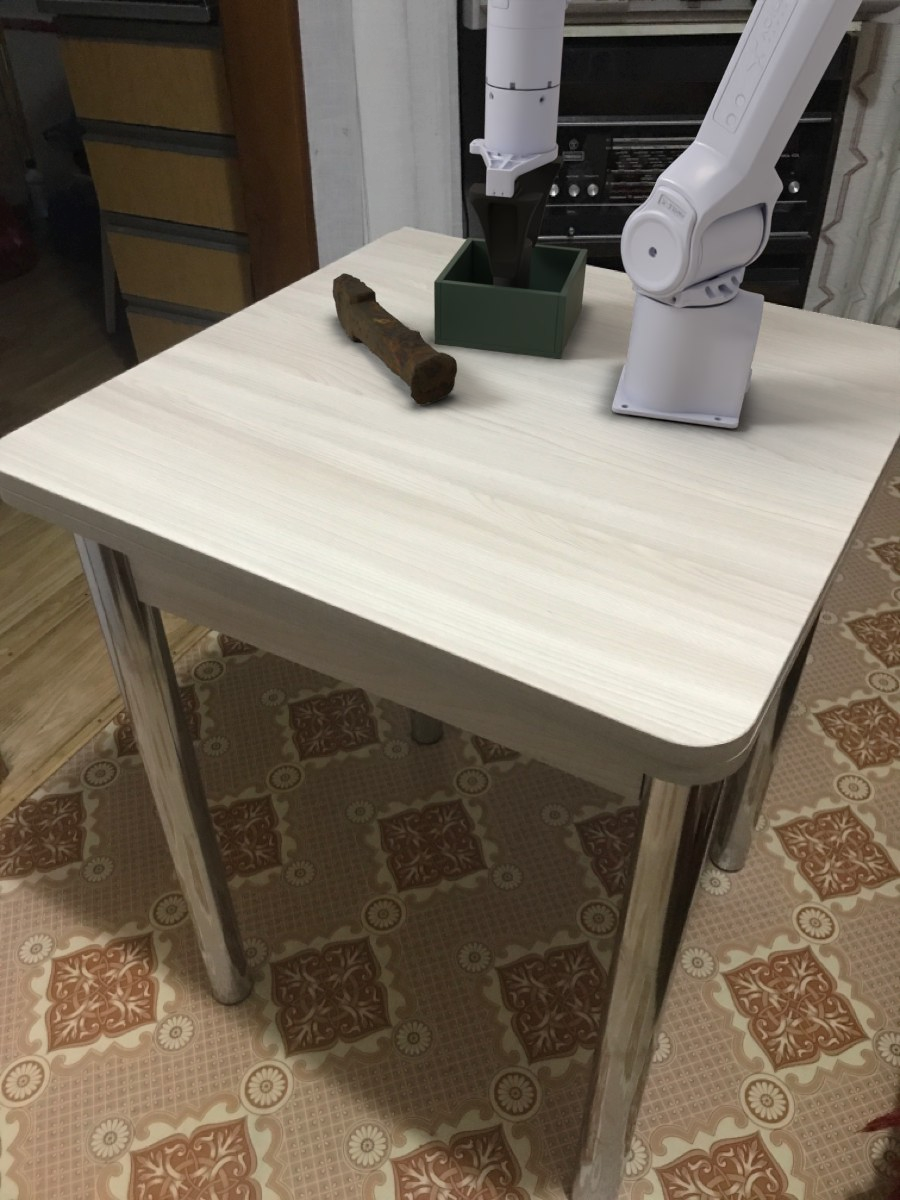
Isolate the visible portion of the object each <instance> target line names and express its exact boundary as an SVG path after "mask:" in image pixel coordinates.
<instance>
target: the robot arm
mask: <svg viewBox="0 0 900 1200" xmlns="http://www.w3.org/2000/svg"><path fill="white" fill-rule="evenodd" d="M570 2H572V0H487V10H486V11H487V13H486V17H487V18H486V49H485V50H486V52H485V53H486V54H485V55H486V57H485V101H484V102H485V104H484V138H476V139H473V140H472V141H471V142H470V143H469V153H470V154H473V155H480V156H481V157H482V159H483V162H484V165H485V166H486V179H485V181H486V182H485V183H479V182H474V183H473V184H472V185H471V186H470V188H469V189H468V196H469V197H468V199H469V203H470V205H471V206H472V208H473V210H474V212H475V214H476V216H477V219H478V222H479V224H480V227H481V230H482V233H483V239H485V243H486V248H487V254H488V259H489V264H490V269H491V273H492V276H493V277H502V278H511V279H516V277H517V276H518V273H519V270H520V267H521V263H522V258H523V253H524V247H525V242H526V237H527V238H529V239H530V240H531V241H532V248H534V247H535V245H536V244H538V243H537V242H538V240H539V236H540V233H541V229H542V225H543V220H544V216H545V212H546V208H547V203H548V200H549V198H550V197H549V196H550V194H551V192H552V189H553V186H554V183H555V181H556V179H557V176H558V175H559V172H560V171H561V169H562V167H563V165H564V163H565V161H564V159H565V158H564V157H563V156H561V155H558V154H559V144H558V143H557V132H558V119H559V105H560V103H559V102H560V89H561V76H562V75H561V74H562V61H563V60H562V59H563V47H564V32H565V17H566V10H567V9H568V7H569V3H570ZM862 2H863V0H756V2H755V4H754V7H753V9H752V11H751V13H750V15H749V18H748V19H747V22H746V25H745V27H744V29H743V31H742V33H741V36H740V37H739V40H738V43H737V45H736V46H735V49H734V52H733V54H732V56H731V58H730V61H729V63H728V65H727V67H726V69H725V71H724V74H723V75H722V79H721V81H720V83H719V85H718V87H717V90H716V93H715V94H714V97H713V99H712V101H711V103H710V105H709V107H708V110H707V112H706V114H705V116H704V119H703V121H702V123H701V126H700V128H699V130H698V132H697V135H696V137H695V139H694V141H693V142H692V143H691V144H690V145H689V146H688V147H687V148H686V149H685V150H684V151H683V153H681V154H680V155H679V156H678V157H677V158H676V159H674V161H673V162H672V163H671V164H670V165H669V166H668V167H667V168H666V169H665V170H664V171H663V172H662V173H661V174H660V175H659V176H658V178H657V180H656V182H655V185H654V186H653V189H652V191H651V192H650V195H649V196H648V197H647V199H646V200H645V201H644V202H643V203H642V204H641V205H639V207H637V208H636V209H635V210H633V212H632V213H631V214H630V215H629V217H628V218H627V220H626V222H625V224H624V226H623V229H622V233H621V238H620V256H621V260H622V264H623V268H624V270H625V273H626V275H627V276H628V278H629V280H630V282H631V284H632V286H631V290H632V291H633V292H635V298H634V305H633V312H632V319H631V320H632V321H631V326H630V332H629V342H628V349H627V356H626V362H625V364H624V365H623V366H622V370H621V374H620V377H619V380H618V384H617V387H616V391H615V395H614V397H613V401H612V405H611V411H612V412H613V413H616V414H622V415H628V416H629V415H631V416H635V417H636V416H637V417H644V418H652V419H659V420H667V421H674V422H682V423H688V424H694V425H695V424H696V425H703V426H711V427H717V428H718V427H720V428H725V429H736V428H738V426H739V423H740V416H741V411H742V408H743V402H744V399H745V395H746V393H748V392H749V389H750V385H751V382H752V376H753V375H752V374H753V368H752V366H753V365H752V364H753V361H754V356H755V352H756V347H757V343H758V339H759V334H760V330H761V329H760V327H761V324H762V318H763V312H764V305H765V296H764V295H763V294H760V293H757V292H752V291H747V290H745V289H742V288H740V284H742V283H743V279H744V276H745V271H746V267H748V266H749V265H751V264H752V263H753V262H755V261H756V260H757V259H758V258H760V256H761V255H762V253H763V251H764V250H765V248H766V246H767V244H768V241H769V240H770V239H769V238H770V234H771V226H772V216H773V212H774V208H775V205H776V203H777V201H778V199H779V197H780V195H781V193H782V192H783V189H784V185H783V182H782V179H781V178H780V176H779V174H778V172H777V170H776V168H775V167H776V164H777V163H778V161H779V159H780V157H781V155H782V153H783V151H784V149H785V148H786V146H787V144H788V142H789V140H790V138H791V136H792V134H793V132H794V131H795V129H796V127H797V125H798V124H799V121H800V120H801V117H802V115H803V114H804V112H805V110H806V108H807V107H808V104H809V103H810V100H812V97H813V95H814V93H815V92H816V89H817V87H818V85H819V84H820V82H821V80H822V78H823V76H824V75H825V72H826V70H827V69H828V66H829V64H830V63H831V61H832V59H833V57H834V56H835V53H836V51H838V47H839V46H840V45H841V42H842V41H843V38H844V36H845V34H846V33H847V31H848V29H849V27H850V25H851V23H852V21H853V19H854V17H855V16H856V14H857V12H858V11H859V8H860V6H861V4H862Z"/></svg>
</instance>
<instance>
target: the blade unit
mask: <svg viewBox="0 0 900 1200" xmlns="http://www.w3.org/2000/svg"><path fill="white" fill-rule="evenodd" d="M531 252H532V241H531V240H530V239H529V238H527V237H526V242H525V247H524V253H523V258H522V263H521V267H520V270H519V273H518V276H517V277H516V279H511V278H502V277H493V285H494V286H503V287H512V288H521V289H529V284H530V268H531Z"/></svg>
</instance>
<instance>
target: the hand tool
mask: <svg viewBox="0 0 900 1200" xmlns="http://www.w3.org/2000/svg"><path fill="white" fill-rule="evenodd" d="M332 298H333V301H334V304H335V312H336V315H337V319H338V321H339V322H340V326H341V327H342V329H344V331H345V333H346V335H347V337H348V338H349V339H350V340H351V341H354V342H362V344H363V345H364V346H365V347H366V348H367V349H368V350H369V351H370V352H371V354H373V355H374V356H376V357H377V358H378V359H380V360H381V362H382V363H384V365H385V366H386V367H387V369H388V370H390V372H392V373H393V374H394V375H396V376H397V377H398V378H399V379H400V380H401V381H403V382H404V383H405V384H406V385H407V386H408V387H409V388H410V397H411V398H412V400H413V401H414V402H415V403H416V404H417V405H419V406H423V405H426V404H433V403H435V402H438V401H440V400H441V399H444V398H446V397H447V396H449V395H450V394H451V393H452V391H453V390H454V388H455V384H456V383H455V381H456V375H457V373H458V363H457V360H456V359H455V357H454V356H452V355H451V354H448V353H446V352H441V351H438V350H436V349H435V348H433V347H432V346H431V345H430V344H429V343H428V342H426V341H425V340H424V338H423V337H422V335H421V332H420V331H419V330H414V329H411V328H409V327H408V326H407V325H405V324H404V323H403V322H401V321H400V320H399V319H398V318H396V316H395V315H392V314H391V313H390V312H389V311H387V309H385V308H384V307H383V306H382V305H381V304H380V302H379V301H377V295H376V291H374V290H373V288H371V287H369V286H368V285H367V284H366V283H365V282H364V281H361V278H358V277H357V276H353V275H352V274H349V273H346V272H345V273H341V274H340V275H338V276H337V277H336V278H334V279H332Z"/></svg>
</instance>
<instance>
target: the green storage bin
mask: <svg viewBox="0 0 900 1200" xmlns="http://www.w3.org/2000/svg"><path fill="white" fill-rule="evenodd" d="M588 252H589V251H588V249H587V248H580V247H579V248H578V247H567V246H558V245H548V244H538V243H536V245H535V247H534V248H532V252H531V268H530V284H529V289H521V288H512V287H503V286H494V285H493V276H492V273H491V269H490V264H489V259H488V254H487V248H486V243H485V238H477V237H467V238H466V239H465V241H464V242H463V243H462V244H461V246H460V247H459V249H458V250H457V251H456V252H455V253H454V255H453V257H452V258H450V260H449V262H448V263H447V264H446V266H445V267H444V268H443V269H442V271H440V273H439V274H438V276H437V277H436V279H435V280H434V281H433V300H434V301H433V303H434V305H433V307H434V309H433V312H434V313H433V314H434V315H433V316H434V319H433V320H434V321H433V322H434V344H438V345H446V346H453V347H460V348H468V349H469V348H470V349H477V350H486V351H494V352H501V353H509V354H510V353H511V354H516V355H517V354H519V355H525V356H532V357H533V356H534V357H541V358H542V357H543V358H549V359H550V358H551V359H558V360H561V359H562V357H563V355H564V352H565V349H566V347H567V345H568V342H569V339H570V337H571V335H572V332H573V331H574V328H575V325H576V323H577V320H578V318H579V316H580V313H581V311H582V307H583V301H584V300H583V299H584V290H585V282H586V281H585V280H586V270H587V261H588V260H587V259H588Z"/></svg>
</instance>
